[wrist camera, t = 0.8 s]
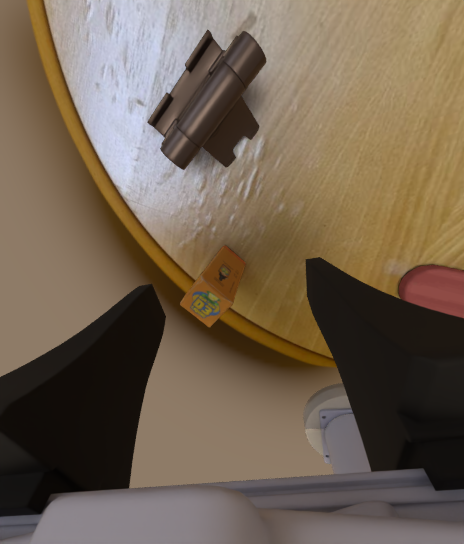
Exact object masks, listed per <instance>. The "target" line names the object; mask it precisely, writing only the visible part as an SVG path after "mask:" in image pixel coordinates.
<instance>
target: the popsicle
mask: <svg viewBox="0 0 464 544" xmlns="http://www.w3.org/2000/svg"><path fill="white" fill-rule="evenodd" d="M399 295H400V297H401V299H402V300H404V301H407V302H410V303H413V304H416V305H419V306H422V307H425V308H428V309H432V310H435V311H439V312H442V313H446V314H450V315H454V316H458V317H462V318H464V271H463V270H458V269H453V268H448V267H443V266H438V265H428V266H419V267H417V268H415V269H413V270H411V271H410V272H408V273H407V274H406V275H405V276H404V277H403V278H402V280H401V282H400V285H399Z"/></svg>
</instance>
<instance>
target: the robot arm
mask: <svg viewBox="0 0 464 544" xmlns="http://www.w3.org/2000/svg"><path fill="white" fill-rule="evenodd" d="M306 281H307V297H308V300H309V304H310V307H311V310H312V313H313V316H314V318H315V320H316V322H317V324H318V326H319V328H320V330H321V333H322V335H323V337H324V339H325V341H326V343H327V345H328V347H329V349H330V351H331V353H332V356H333V358H334V360H335V363H336V365H337V368H338V370H339V373H340V376H341V379H342V382H343V384H344V387H345V390H346V393H347V396H348V399H349V402H350V405H351V409H321V410H320V411H319V416H320V426H321V436H322V447H323V457H324V462H325V463H327V464H332V468H333V472H334V474H333V475H318V476H304V477H291V478H290V477H289V478H275V479H261V480H246V481H231V482H217V483H202V484H187V485H173V486H159V487H144V488H129V484H130V476H131V468H132V460H133V453H134V447H135V439H136V434H137V428H138V423H139V418H140V412H141V407H142V403H143V398H144V393H145V389H146V385H147V381H148V378H149V375H150V372H151V369H152V366H153V363H154V360H155V357H156V354H157V351H158V348H159V345H160V342H161V339H162V335H163V331H164V325H165V318H166V316H165V313H164V311H163V309H162V306H161V304H160V302H159V299H158V297H157V295H156V292H155V290H154V288H153V286H152V284H149V285H142V286H139V287H137V288H136V289H134V290H133V291H132V292H130V293H129V294H128V295H127V296H125V297H124V298H123V299H122V300H120V301H119V302H118V303H117V304H115V305H114V306H113V307H112V308H111V309H109V310H108V311H107V312H106V313H104V314H103V315H102V316H100V317H99V318H98V319H97V320H95V321H94V322H93V323H91V324H90V325H89V326H87V327H86V328H85V329H83V330H82V331H80V332H79V333H77V334H76V335H74V336H73V337H72V338H70V339H68V340H67V341H65V342H64V343H62V344H61V345H59V346H57V347H56V348H54V349H52V350H51V351H49V352H47V353H45V354H44V355H42V356H40V357H38V358H36V359H35V360H33V361H31V362H29V363H27V364H25V365H23V366H22V367H20V368H18V369H16V370H14V371H12V372H10V373H8V374H6V375H3V376H1V377H0V544H464V318H462V317H458V316H454V315H450V314H446V313H442V312H439V311H435V310H432V309H428V308H425V307H422V306H419V305H416V304H413V303H410V302H407V301H404V300H402V299H399V298H396V297H394V296H392V295H389V294H387V293H384V292H382V291H380V290H377V289H375V288H373V287H371V286H369V285H367V284H365V283H363V282H361V281H359V280H357V279H355V278H354V277H352V276H350V275H348V274H347V273H345V272H343V271H342V270H340V269H338V268H337V267H335V266H333V265H332V264H330V263H329V262H327V261H325V260H324V259H322V258H320V257H318V258H312V259H306Z"/></svg>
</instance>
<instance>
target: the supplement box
mask: <svg viewBox="0 0 464 544" xmlns="http://www.w3.org/2000/svg"><path fill="white" fill-rule="evenodd" d="M245 265H246V263H245V262H244V261H243V260H242V259H241V258H240V257H238V256H237V255H236V254H235V253H234V252H233V251H231V250H230V249H229V248H228V247H227V246H225V245H224V246H223V247H222V248H221V249H220V251H219V252H218V253H217V254H216V255H215V257H214V258H213V259H212V260H211V262H210V263H209V264H208V266H207V267H206V268H205V270H204V271H203V272H202V274H201V275H200V276H199V277H198V279H197V280H196V281H195V283H194V284H193V285H192V287H191V288H190V289H189V291H188V292H187V294H186V295H185V297H184V298H183V299H182V301H181V303H180V305H181V306H183V307H184V308H185V309H186V310H188V311H189V312H190V313H192V314H193V315H194V316H195V317H197V318H198V319H199V320H200V321H202V322H203V323H204V324H205V325H207V326H208V327H210V326H211V325H212V324H213V323H214V322H215V321H216V320H217V319H218V318H219V317H220V316H221V315H222V314H223V313H224V312H225V311H226V310H227V309H228V308H230V307H231V306H232V305H233V302H234V299H235V295H236V292H237V289H238V286H239V283H240V280H241V277H242V274H243V271H244V268H245Z"/></svg>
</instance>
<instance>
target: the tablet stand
mask: <svg viewBox="0 0 464 544" xmlns="http://www.w3.org/2000/svg"><path fill="white" fill-rule="evenodd" d="M265 63H266V57H265V55H264V53H263V51H262V49H261V47H260V46H259V44H258V43H257V42H256V40H255V39H254V38H253V37H252V36H251V35H250V34H249V33H247V32H246V31H242V33H241V34H240V35H239V36H236V37H235V39H234V40H233V41H232V43H231V44H230V46H229V47H228V49H227V50H226V51H225V50H222V49H221V48H220V46H219V45H218V44H217V43H216V41H215V40H214V39H213V37H212V34H211V32H210V31H209V30H207V31H206V33H205V34H204V36H203V37H202V39H201V40H200V42H199V43H198V45H197V47H196V48H195V50H194V51H193V53H192V54H191V56H190V57H189V59H188V60H187V62H186V63H185V66H186V70H185V71H184V73H183V74H182V76H181V77H180V79H179V80H178V82H177V83H176V85H175V86H174V88H173V89H172V91H171V93H170V94H168V93H166V94H165V96H164V97H163V99H162V100H161V102H160V103H159V105H158V106H157V108H156V109H155V111H154V112H153V114H152V116H151V117H150V119H149V120H148V123H149V124H150V125H151V126H153V127H154V128H155V129H157V130H158V131H159V132H160V133H161V134H162V135H163V136H164V138H165V139H164V141H163V142H162V146H161V148H160V149H161V151H162V152H163V154H164V155H165V156H166V157H167V158H168V159H169V160H171V161H172V162H173V163H174V164H175V165H177V166H178V167H179V168H181V169H183V170H185V168H186V167H187V166H188V165H189V163H190V162H191V161H192V159H193V158H194V157H195V155H196V154H197V153H198V151H199V150H200V148H201V147H203V148H204V149H205V150H206V151H207V152H208V153H210V154H211V155H212V156H213V157H214V158H215V159H217V160H218V161H219V162H220V163H221V164H223V165H224V166H225V167H228V166H229V165H230V164H231V163H232V162H233V161H234V159H235V158H236V157H235V155H234V153H233V148H234V147H235V146H236V144H237V143H238V142H239V141H240V139H241V138H242V137H243V136H246V137H247V138H249V139H250V140H251V139H252V138H253V136H254V135H255V134H256V133H257V131H258V130H259V125H258V123H257V122H256V120H255V118H254V117H253V115H252V113H251V111H250V110H249V108H248V106H247V105H246V103H245V101H244V100H243V98H242V96H241V95H242V94H243V92H244V91H245V90H246V88H247V87H248V86H249V84H250V83H251V82H252V80H253V79H254V78H255V77H256V75H257V74H258V73H259V71H260V70H261V69H262V67H263V66H264V65H265Z"/></svg>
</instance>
